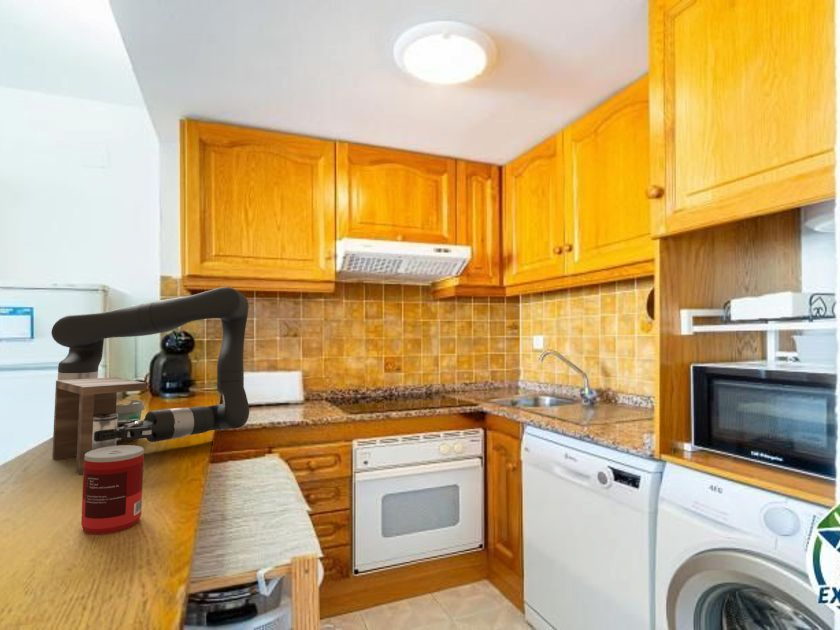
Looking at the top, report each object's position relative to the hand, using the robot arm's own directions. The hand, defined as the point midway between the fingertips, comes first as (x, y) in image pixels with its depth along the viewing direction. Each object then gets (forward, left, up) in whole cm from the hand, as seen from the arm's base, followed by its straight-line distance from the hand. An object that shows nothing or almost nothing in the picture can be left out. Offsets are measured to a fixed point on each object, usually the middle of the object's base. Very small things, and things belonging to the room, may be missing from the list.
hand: (90, 434), depth 104 cm
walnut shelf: (0, +2, -6) cm, 6 cm away
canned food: (+41, -9, -6) cm, 42 cm away
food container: (-16, +14, -6) cm, 22 cm away
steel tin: (0, +3, -6) cm, 7 cm away
